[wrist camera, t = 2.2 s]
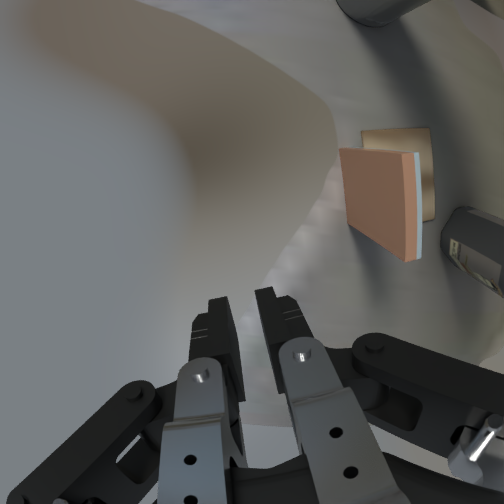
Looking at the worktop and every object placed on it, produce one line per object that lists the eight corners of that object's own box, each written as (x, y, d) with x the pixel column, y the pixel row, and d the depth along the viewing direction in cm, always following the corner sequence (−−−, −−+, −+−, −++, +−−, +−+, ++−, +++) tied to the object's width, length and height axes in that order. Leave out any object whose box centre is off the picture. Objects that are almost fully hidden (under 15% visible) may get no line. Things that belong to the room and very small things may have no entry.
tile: (338, 148, 34) (401, 153, 21) (352, 147, 34) (418, 152, 21) (347, 223, 38) (405, 262, 25) (360, 220, 38) (421, 257, 25)
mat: (360, 131, 33) (361, 131, 33) (428, 128, 34) (429, 128, 34) (370, 232, 38) (371, 233, 38) (433, 218, 39) (434, 218, 39)
